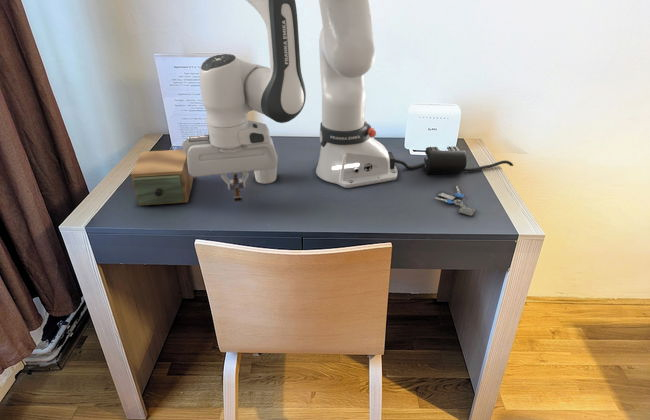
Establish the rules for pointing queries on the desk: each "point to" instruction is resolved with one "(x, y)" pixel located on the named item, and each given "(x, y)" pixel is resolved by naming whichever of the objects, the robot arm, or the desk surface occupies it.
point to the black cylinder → (445, 160)
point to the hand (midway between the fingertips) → (237, 187)
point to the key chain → (463, 208)
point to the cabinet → (164, 168)
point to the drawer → (159, 189)
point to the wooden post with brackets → (236, 189)
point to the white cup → (266, 175)
